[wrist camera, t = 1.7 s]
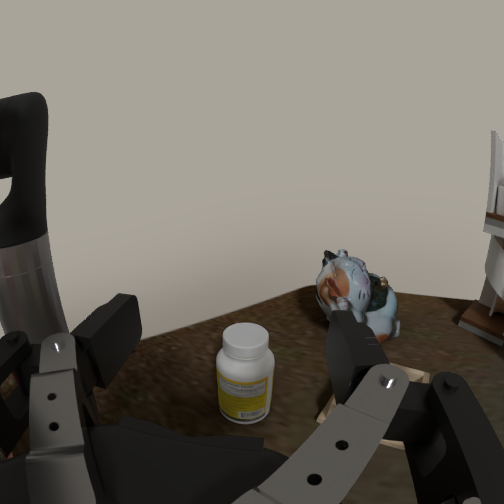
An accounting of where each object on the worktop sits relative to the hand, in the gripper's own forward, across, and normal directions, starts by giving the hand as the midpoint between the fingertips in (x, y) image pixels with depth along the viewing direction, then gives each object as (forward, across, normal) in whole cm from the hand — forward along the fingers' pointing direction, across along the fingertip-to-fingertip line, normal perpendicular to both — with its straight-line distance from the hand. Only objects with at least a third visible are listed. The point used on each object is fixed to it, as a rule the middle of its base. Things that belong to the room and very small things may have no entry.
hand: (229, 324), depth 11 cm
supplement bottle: (+11, 0, +18) cm, 21 cm away
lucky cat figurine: (+29, -16, +18) cm, 38 cm away
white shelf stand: (+27, -45, +18) cm, 55 cm away
